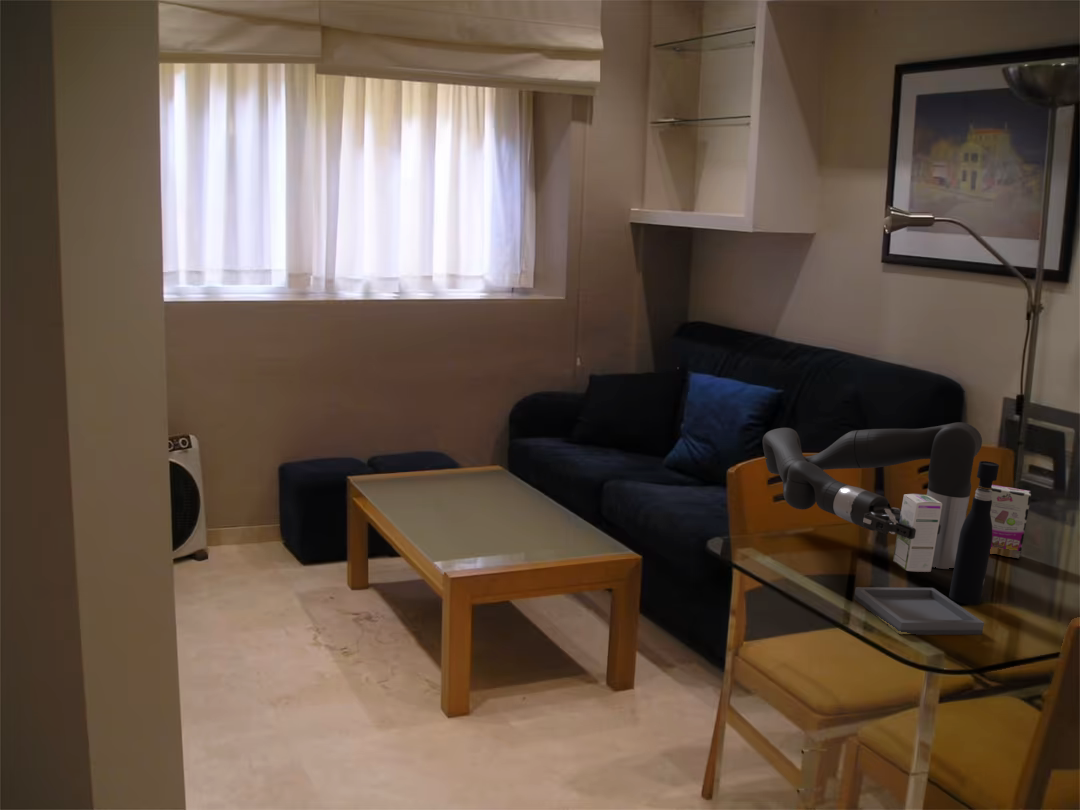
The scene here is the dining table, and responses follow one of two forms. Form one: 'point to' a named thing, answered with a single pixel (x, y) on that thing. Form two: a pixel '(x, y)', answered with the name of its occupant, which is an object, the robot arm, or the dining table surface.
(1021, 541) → the candy bar box
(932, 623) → the tray
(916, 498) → the syrup box
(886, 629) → the dining table surface
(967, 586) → the dark water bottle
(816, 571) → the dining table surface
